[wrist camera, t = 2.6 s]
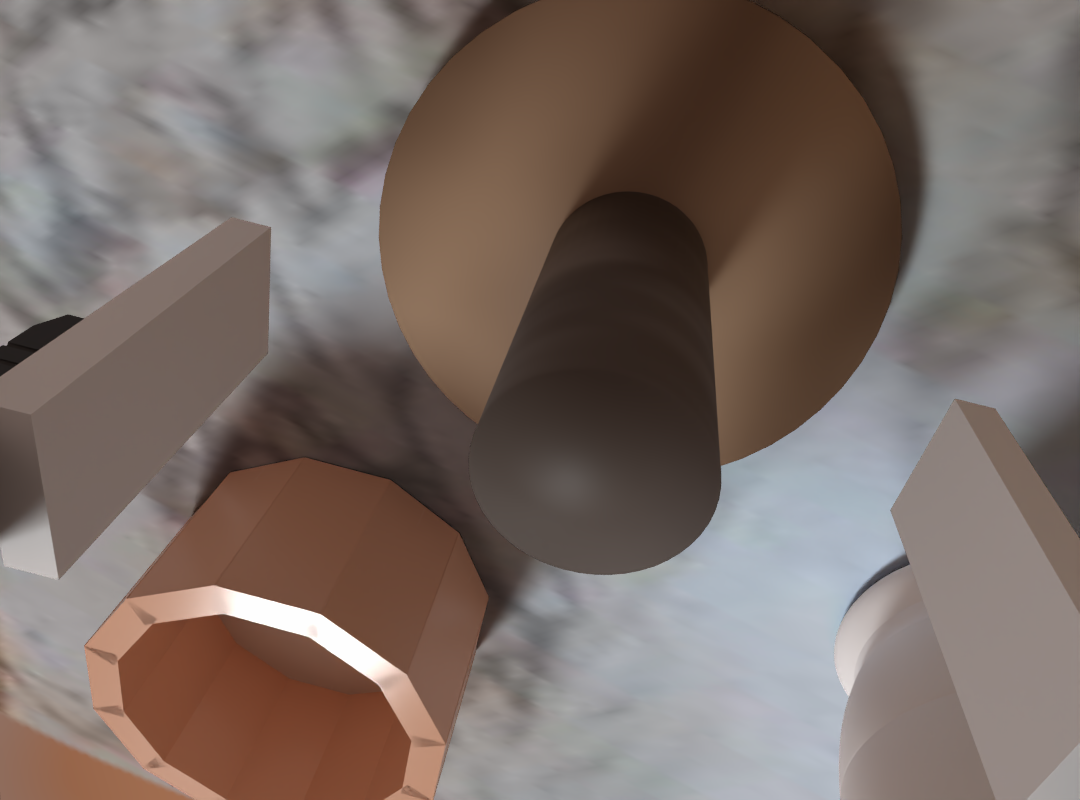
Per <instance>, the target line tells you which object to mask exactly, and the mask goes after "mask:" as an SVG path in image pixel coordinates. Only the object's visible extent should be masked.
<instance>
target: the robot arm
mask: <svg viewBox="0 0 1080 800" xmlns="http://www.w3.org/2000/svg"><path fill="white" fill-rule="evenodd" d="M270 246H271V227H268V226H264V225H260V224H256V223H252V222H248V221H244V220H240V219H236V218H232V217H231V218H230V219H228V220H227V221H225V222H224V223H223V224H221V225H220V226H218V227H217V228H215V229H214V230H212V231H211V232H209V233H208V234H207V235H205V236H204V237H202V238H201V239H199V240H198V241H196V242H195V243H194V244H192V245H191V246H189V247H188V248H186V249H185V250H183V251H182V252H180V253H179V254H178V255H176V256H175V257H173V258H172V259H170V260H169V261H167V262H166V263H164V264H163V265H162V266H160V267H159V268H157V269H156V270H154V271H153V272H151V273H150V274H148V275H147V276H146V277H144V278H143V279H141V280H140V281H138V282H137V283H135V284H134V285H133V286H131V287H130V288H128V289H127V290H125V291H124V292H122V293H121V294H119V295H118V296H117V297H115V298H114V299H112V300H111V301H109V302H108V303H106V304H105V305H103V306H102V307H101V308H99V309H98V310H96V311H95V312H93V313H92V314H90V315H89V316H87V317H86V318H85V319H84V318H80V317H76V316H72V315H65V316H62V317H59V318H56V319H53V320H49V321H46V322H43V323H40V324H37V325H34V326H32V327H30V328H29V329H27V330H26V331H24V332H23V333H21V334H20V335H18V336H17V337H15V338H13V339H12V340H10V341H9V342H8V345H7V346H4V345H3V346H1V347H0V548H1V553H2V557H3V562H4V566H6V567H10V568H14V569H18V570H22V571H26V572H30V573H34V574H38V575H41V576H45V577H49V578H53V579H57V580H59V579H60V578H61V577H62V576H63V575H64V574H65V573H66V571H67V570H68V569H69V568H70V567H71V566H72V565H73V564H74V563H75V562H76V561H77V560H78V558H79V557H80V556H81V555H82V554H83V553H84V552H85V551H86V550H87V549H88V548H89V546H90V545H91V544H92V543H93V542H94V541H95V540H96V539H97V538H98V537H99V536H100V535H101V533H102V532H103V531H104V530H105V529H106V528H107V527H108V526H109V525H110V524H111V523H112V522H113V520H114V519H115V518H116V517H117V516H118V515H119V514H120V513H121V512H122V511H123V510H124V509H125V507H126V506H127V505H128V504H129V503H130V502H131V501H132V500H133V499H134V498H135V497H136V496H137V494H138V493H139V492H140V491H141V490H142V489H143V488H144V487H145V486H146V485H147V484H148V482H149V481H150V480H151V479H152V478H153V477H154V476H155V475H156V474H157V473H158V472H159V471H160V469H161V468H162V467H163V466H164V465H165V464H166V463H167V462H168V461H169V460H170V459H171V458H172V456H173V455H174V454H175V453H176V452H177V451H178V450H179V449H180V448H181V447H182V446H183V445H184V443H185V442H186V441H187V440H188V439H189V438H190V437H191V436H192V435H193V434H194V433H195V432H196V430H197V429H198V428H199V427H200V426H201V425H202V424H203V423H204V422H205V421H206V420H207V418H208V417H209V416H210V415H211V414H212V413H213V412H214V411H215V410H216V409H217V408H218V407H219V405H220V404H221V403H222V402H223V401H224V400H225V399H226V398H227V397H228V396H229V395H230V394H231V392H232V391H233V390H234V389H235V388H236V387H237V386H238V385H239V384H240V383H241V382H242V381H243V379H244V378H245V377H246V376H247V375H248V374H249V373H250V372H251V371H252V370H253V369H254V367H255V366H256V365H257V364H258V363H259V362H260V361H261V360H262V359H263V358H264V357H265V356H266V354H267V353H268V330H269V288H270ZM891 513H892V516H893V519H894V521H895V524H896V527H897V530H898V532H899V535H900V538H901V541H902V543H903V546H904V549H905V552H906V554H907V557H908V560H909V563H910V565H911V568H912V571H913V574H914V576H915V579H916V582H917V585H918V587H919V590H920V593H921V596H922V598H923V601H924V604H925V607H926V609H927V612H928V615H929V618H930V620H931V623H932V626H933V629H934V631H935V634H936V637H937V640H938V642H939V645H940V648H941V651H942V653H943V656H944V659H945V662H946V664H947V667H948V670H949V673H950V675H951V678H952V681H953V684H954V686H955V689H956V692H957V695H958V697H959V700H960V703H961V706H962V708H963V711H964V714H965V717H966V719H967V722H968V725H969V728H970V730H971V733H972V736H973V739H974V741H975V744H976V747H977V750H978V752H979V755H980V758H981V761H982V763H983V766H984V769H985V772H986V774H987V777H988V780H989V783H990V785H991V788H992V791H993V794H994V796H995V799H996V800H1080V539H1079V537H1078V535H1077V534H1076V532H1075V531H1074V529H1073V528H1072V526H1071V525H1070V523H1069V522H1068V520H1067V519H1066V517H1065V515H1064V514H1063V512H1062V511H1061V509H1060V508H1059V506H1058V505H1057V503H1056V502H1055V500H1054V498H1053V497H1052V495H1051V494H1050V492H1049V491H1048V489H1047V488H1046V486H1045V485H1044V483H1043V482H1042V480H1041V478H1040V477H1039V475H1038V474H1037V472H1036V471H1035V469H1034V468H1033V466H1032V465H1031V463H1030V462H1029V460H1028V458H1027V457H1026V455H1025V454H1024V452H1023V451H1022V449H1021V448H1020V446H1019V445H1018V443H1017V442H1016V440H1015V438H1014V437H1013V435H1012V434H1011V432H1010V431H1009V429H1008V428H1007V426H1006V425H1005V423H1004V421H1003V420H1002V418H1001V417H1000V415H999V414H998V412H997V411H996V409H994V408H990V407H986V406H982V405H978V404H974V403H970V402H966V401H962V400H958V399H954V401H953V403H952V405H951V406H950V408H949V410H948V411H947V413H946V415H945V417H944V418H943V420H942V422H941V424H940V425H939V427H938V429H937V431H936V432H935V434H934V436H933V437H932V439H931V441H930V443H929V444H928V446H927V448H926V450H925V451H924V453H923V455H922V456H921V458H920V460H919V462H918V463H917V465H916V467H915V469H914V470H913V472H912V474H911V476H910V477H909V479H908V481H907V482H906V484H905V486H904V488H903V489H902V491H901V493H900V495H899V496H898V498H897V500H896V501H895V503H894V505H893V507H892V508H891Z"/></svg>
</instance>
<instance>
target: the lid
mask: <svg viewBox="0 0 1080 800" xmlns="http://www.w3.org/2000/svg"><path fill="white" fill-rule="evenodd" d="M901 242H902V224H901V201H900V196H899V191H898V186H897V180H896V175H895V170H894V166H893V163H892V160H891V157H890V154H889V152H888V149H887V146H886V143H885V140H884V137H883V135H882V132H881V130H880V128H879V126H878V125H877V123H876V121H875V119H874V117H873V115H872V113H871V112H870V110H869V108H868V106H867V104H866V102H865V100H864V99H863V98H862V96H861V95H860V94H859V92H858V91H857V90H856V88H855V87H854V86H853V84H852V83H851V82H850V80H849V79H848V78H847V76H846V75H845V74H844V72H843V71H842V70H841V69H840V68H839V67H838V66H837V65H836V64H835V63H834V62H833V61H832V60H831V59H830V58H829V57H828V56H827V55H826V54H825V53H824V52H823V51H822V50H821V49H820V48H819V47H818V46H817V45H816V44H815V43H814V42H812V41H811V40H810V39H809V38H808V37H807V36H806V35H805V34H803V33H802V32H800V31H799V30H798V29H796V28H795V27H793V26H792V25H791V24H789V23H788V22H786V21H785V20H783V19H782V18H781V17H779V16H778V15H776V14H775V13H773V12H771V11H769V10H767V9H765V8H763V7H761V6H759V5H757V4H755V3H753V2H751V1H749V0H539V1H536V2H534V3H532V4H530V5H527V6H525V7H523V8H521V9H519V10H517V11H515V12H513V13H512V14H510V15H509V16H507V17H505V18H504V19H502V20H501V21H499V22H497V23H496V24H494V25H493V26H491V27H489V28H488V29H486V30H485V31H483V32H481V33H480V34H479V35H478V36H477V37H476V38H474V39H473V40H472V41H471V42H470V43H468V44H467V45H466V46H465V47H464V48H463V49H461V50H460V51H459V52H458V53H457V54H455V55H454V56H453V57H452V58H451V59H450V61H449V62H448V63H447V64H446V65H445V66H444V67H443V68H442V70H441V71H440V72H439V73H438V74H437V75H436V76H435V77H434V79H433V80H432V81H431V82H430V83H429V85H428V86H427V88H426V89H425V91H424V92H423V94H422V95H421V97H420V98H419V100H418V101H417V103H416V104H415V106H414V107H413V109H412V110H411V112H410V114H409V116H408V118H407V120H406V122H405V124H404V126H403V128H402V130H401V133H400V135H399V137H398V139H397V141H396V143H395V146H394V149H393V153H392V156H391V159H390V162H389V165H388V168H387V172H386V175H385V181H384V186H383V192H382V198H381V204H380V224H379V243H380V253H381V263H382V271H383V275H384V279H385V284H386V288H387V292H388V297H389V300H390V303H391V305H392V308H393V311H394V314H395V316H396V319H397V322H398V324H399V327H400V329H401V331H402V333H403V335H404V337H405V339H406V341H407V342H408V344H409V346H410V348H411V350H412V352H413V354H414V355H415V357H416V358H417V360H418V361H419V363H420V364H421V366H422V367H423V368H424V370H425V371H426V373H427V374H428V376H429V377H430V378H431V379H432V381H433V382H434V383H435V384H436V385H437V386H438V388H439V389H440V390H441V391H442V392H443V393H444V395H445V396H446V397H447V398H448V399H449V400H450V401H451V402H452V403H453V404H454V405H456V406H457V407H458V408H459V409H460V410H461V411H462V412H463V413H464V414H465V415H466V416H467V417H469V418H470V419H471V420H473V421H474V422H475V423H477V424H478V425H477V428H476V430H475V432H474V435H473V439H472V442H471V446H470V452H469V476H470V481H471V486H472V489H473V492H474V495H475V497H476V500H477V502H478V504H479V506H480V508H481V510H482V512H483V513H484V514H485V516H486V517H487V519H488V520H489V522H490V523H491V524H492V525H493V526H494V527H495V529H496V530H497V531H498V532H499V533H500V534H501V535H502V536H503V537H504V538H506V539H507V540H508V541H509V542H510V543H511V544H513V545H514V546H516V547H517V548H518V549H520V550H521V551H523V552H524V553H526V554H528V555H530V556H532V557H533V558H535V559H537V560H540V561H542V562H544V563H547V564H549V565H552V566H555V567H558V568H561V569H564V570H569V571H574V572H578V573H586V574H595V575H613V574H625V573H630V572H635V571H640V570H644V569H647V568H650V567H653V566H656V565H658V564H661V563H663V562H665V561H667V560H669V559H671V558H673V557H674V556H676V555H678V554H679V553H681V552H682V551H683V550H685V549H686V548H687V547H689V546H690V545H691V544H692V543H693V542H694V541H695V540H696V539H697V538H698V537H699V536H700V535H701V534H702V532H703V531H704V529H705V528H706V527H707V525H708V524H709V522H710V520H711V518H712V516H713V514H714V512H715V510H716V507H717V504H718V501H719V496H720V490H721V466H722V465H725V464H728V463H731V462H733V461H736V460H739V459H742V458H744V457H747V456H749V455H751V454H753V453H755V452H757V451H759V450H761V449H763V448H766V447H768V446H770V445H771V444H773V443H775V442H776V441H778V440H779V439H781V438H783V437H784V436H786V435H788V434H789V433H791V432H792V431H794V430H796V429H797V428H798V427H799V426H801V425H802V424H803V423H804V422H806V421H807V420H808V419H809V418H811V417H812V416H813V415H814V414H816V413H817V412H818V411H819V410H821V409H822V408H823V407H824V406H825V405H826V404H827V402H828V401H829V400H830V399H831V398H832V397H833V396H834V395H835V394H836V393H837V392H838V391H839V390H840V389H841V388H842V387H843V386H844V384H845V383H846V382H847V381H848V379H849V378H850V377H851V375H852V374H853V373H854V371H855V370H856V369H857V367H858V366H859V365H860V363H861V362H862V360H863V359H864V357H865V355H866V353H867V352H868V350H869V348H870V346H871V345H872V343H873V341H874V340H875V338H876V336H877V334H878V332H879V330H880V327H881V325H882V322H883V320H884V317H885V315H886V312H887V310H888V307H889V305H890V302H891V298H892V294H893V290H894V286H895V282H896V278H897V274H898V270H899V261H900V251H901Z"/></svg>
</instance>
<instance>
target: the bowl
mask: <svg viewBox="0 0 1080 800" xmlns="http://www.w3.org/2000/svg"><path fill="white" fill-rule="evenodd" d="M488 599H489V596H488V594H487V592H486V590H485V588H484V586H483V583H482V581H481V579H480V577H479V575H478V573H477V571H476V568H475V566H474V564H473V562H472V560H471V558H470V555H469V553H468V551H467V549H466V547H465V545H464V542H463V540H462V538H461V536H460V533H459V532H457V531H456V530H455V529H453V528H452V527H451V526H449V525H448V524H447V523H446V522H444V521H443V520H442V519H440V518H439V517H438V516H437V515H435V514H434V513H433V512H431V511H430V510H429V509H427V508H426V507H425V506H424V505H422V504H421V503H420V502H418V501H417V500H416V499H415V498H413V497H412V496H411V495H409V494H408V493H407V492H406V491H404V490H403V489H402V488H400V487H399V486H398V485H397V484H395V483H394V482H393V481H392V480H389V479H385V478H381V477H377V476H374V475H370V474H366V473H362V472H358V471H355V470H351V469H347V468H343V467H339V466H336V465H332V464H328V463H324V462H321V461H317V460H313V459H309V458H305V457H304V458H299V459H294V460H289V461H284V462H279V463H274V464H269V465H264V466H259V467H254V468H249V469H244V470H239V471H235V472H230V473H229V474H228V475H227V476H226V478H225V479H224V480H223V481H222V483H221V484H220V485H219V486H218V487H217V488H216V489H215V491H214V492H213V493H212V494H211V495H210V496H209V497H208V499H207V500H206V501H205V502H204V503H203V504H202V505H201V507H200V508H199V509H198V510H197V511H196V512H195V513H194V515H193V516H192V517H191V518H190V519H189V520H188V521H187V522H186V524H185V525H184V526H183V527H182V528H181V530H180V531H179V532H178V533H177V534H176V536H175V537H174V538H173V539H172V540H171V542H170V543H169V544H168V545H167V546H166V548H165V549H164V550H163V551H162V553H161V554H160V555H159V556H158V557H157V559H156V560H155V561H154V562H153V563H152V565H151V566H150V567H149V568H148V569H147V571H146V572H145V573H144V574H143V575H142V577H141V578H140V579H139V580H138V581H137V583H136V584H135V585H134V586H133V588H132V589H131V590H130V591H129V592H128V594H127V595H126V596H125V597H124V598H123V600H122V601H121V602H120V603H119V604H118V606H117V607H116V608H115V609H114V610H113V612H112V613H111V614H110V615H109V616H108V618H107V619H106V620H105V621H104V623H103V624H102V625H101V626H100V627H99V629H98V630H97V631H96V632H95V633H94V635H93V636H92V637H91V638H90V639H89V641H88V642H87V643H86V644H85V645H84V647H85V654H86V660H87V667H88V674H89V680H90V687H91V694H92V700H93V707H94V710H95V711H96V712H97V713H98V714H99V716H100V717H101V718H102V719H103V720H104V722H105V723H106V724H107V725H108V726H109V728H110V729H111V730H112V731H113V732H114V734H115V735H116V736H117V737H118V738H119V740H120V741H121V742H122V743H123V744H124V746H125V747H126V748H127V749H128V750H129V752H130V753H131V754H132V755H133V756H134V758H135V759H136V760H137V761H138V762H139V764H140V765H141V766H142V767H143V768H144V769H145V770H147V771H149V772H150V773H152V774H154V775H155V776H157V777H159V778H160V779H162V780H164V781H165V782H167V783H169V784H170V785H172V786H173V787H175V788H177V789H178V790H180V791H182V792H183V793H185V794H187V795H188V796H190V797H192V798H193V799H195V800H433V799H434V796H435V792H436V789H437V785H438V782H439V778H440V775H441V771H442V768H443V764H444V761H445V758H446V754H447V751H448V747H449V744H450V740H451V737H452V733H453V730H454V726H455V723H456V719H457V716H458V712H459V709H460V705H461V702H462V698H463V695H464V691H465V688H466V684H467V681H468V677H469V674H470V670H471V667H472V663H473V660H474V656H475V653H476V647H477V643H478V639H479V635H480V631H481V627H482V623H483V618H484V614H485V610H486V606H487V602H488Z"/></svg>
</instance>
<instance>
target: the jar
mask: <svg viewBox="0 0 1080 800" xmlns="http://www.w3.org/2000/svg"><path fill="white" fill-rule="evenodd" d="M834 660H835V667H836V671H837V674H838V677H839V680H840V682H841V684H842V686H843V688H844V690H845V692H846V693H847V695H848V696H849V698H848V702H847V705H846V709H845V713H844V717H843V723H842V729H841V736H840V748H839V787H840V800H996V799H995V796H994V794H993V791H992V788H991V785H990V783H989V780H988V777H987V774H986V772H985V769H984V766H983V763H982V761H981V758H980V755H979V752H978V750H977V747H976V744H975V741H974V739H973V736H972V733H971V730H970V728H969V725H968V722H967V719H966V717H965V714H964V711H963V708H962V706H961V703H960V700H959V697H958V695H957V692H956V689H955V686H954V684H953V681H952V678H951V675H950V673H949V670H948V667H947V664H946V662H945V659H944V656H943V653H942V651H941V648H940V645H939V642H938V640H937V637H936V634H935V631H934V629H933V626H932V623H931V620H930V618H929V615H928V612H927V609H926V607H925V604H924V601H923V598H922V596H921V593H920V590H919V587H918V585H917V582H916V579H915V576H914V574H913V571H912V568H911V565H907V566H905V567H903V568H901V569H898V570H896V571H894V572H892V573H890V574H889V575H887V576H885V577H884V578H882V579H881V580H879V581H878V582H876V583H875V584H874V585H872V586H871V587H870V588H868V589H867V590H866V591H865V592H864V593H863V594H862V595H861V596H860V597H859V598H858V599H857V600H856V601H855V602H854V603H853V605H852V606H851V607H850V609H849V610H848V612H847V613H846V615H845V616H844V618H843V620H842V622H841V624H840V626H839V629H838V632H837V635H836V639H835V646H834Z"/></svg>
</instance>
